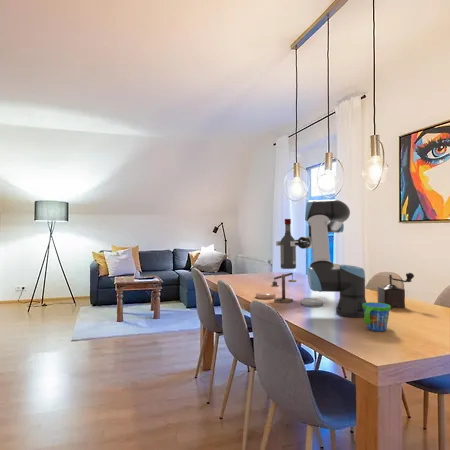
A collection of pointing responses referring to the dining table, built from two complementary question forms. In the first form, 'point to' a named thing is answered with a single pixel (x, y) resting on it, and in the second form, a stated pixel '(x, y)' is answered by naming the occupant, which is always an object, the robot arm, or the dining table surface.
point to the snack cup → (376, 315)
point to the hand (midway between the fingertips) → (283, 243)
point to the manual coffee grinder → (393, 293)
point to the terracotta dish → (265, 295)
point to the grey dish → (312, 302)
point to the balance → (283, 288)
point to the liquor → (287, 248)
